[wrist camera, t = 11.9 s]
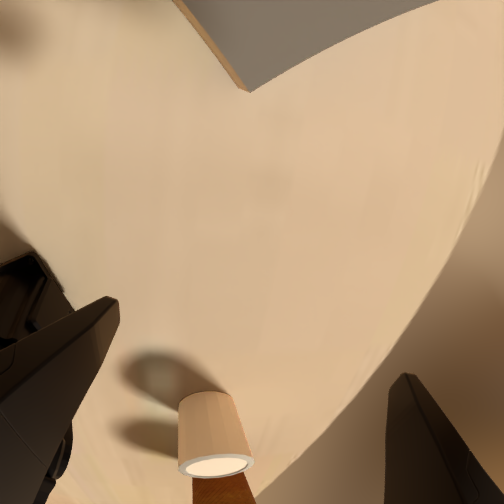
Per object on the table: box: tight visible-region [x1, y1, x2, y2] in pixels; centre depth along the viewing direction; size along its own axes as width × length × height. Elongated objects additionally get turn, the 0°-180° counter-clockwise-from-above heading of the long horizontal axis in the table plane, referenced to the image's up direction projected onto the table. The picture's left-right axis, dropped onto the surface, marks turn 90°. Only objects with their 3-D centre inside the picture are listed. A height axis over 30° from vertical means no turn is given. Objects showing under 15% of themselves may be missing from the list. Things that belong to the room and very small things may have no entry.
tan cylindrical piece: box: [178, 391, 255, 478], centre depth 27 cm, size 7×7×7 cm
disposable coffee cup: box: [192, 472, 256, 504], centre depth 33 cm, size 10×10×12 cm
